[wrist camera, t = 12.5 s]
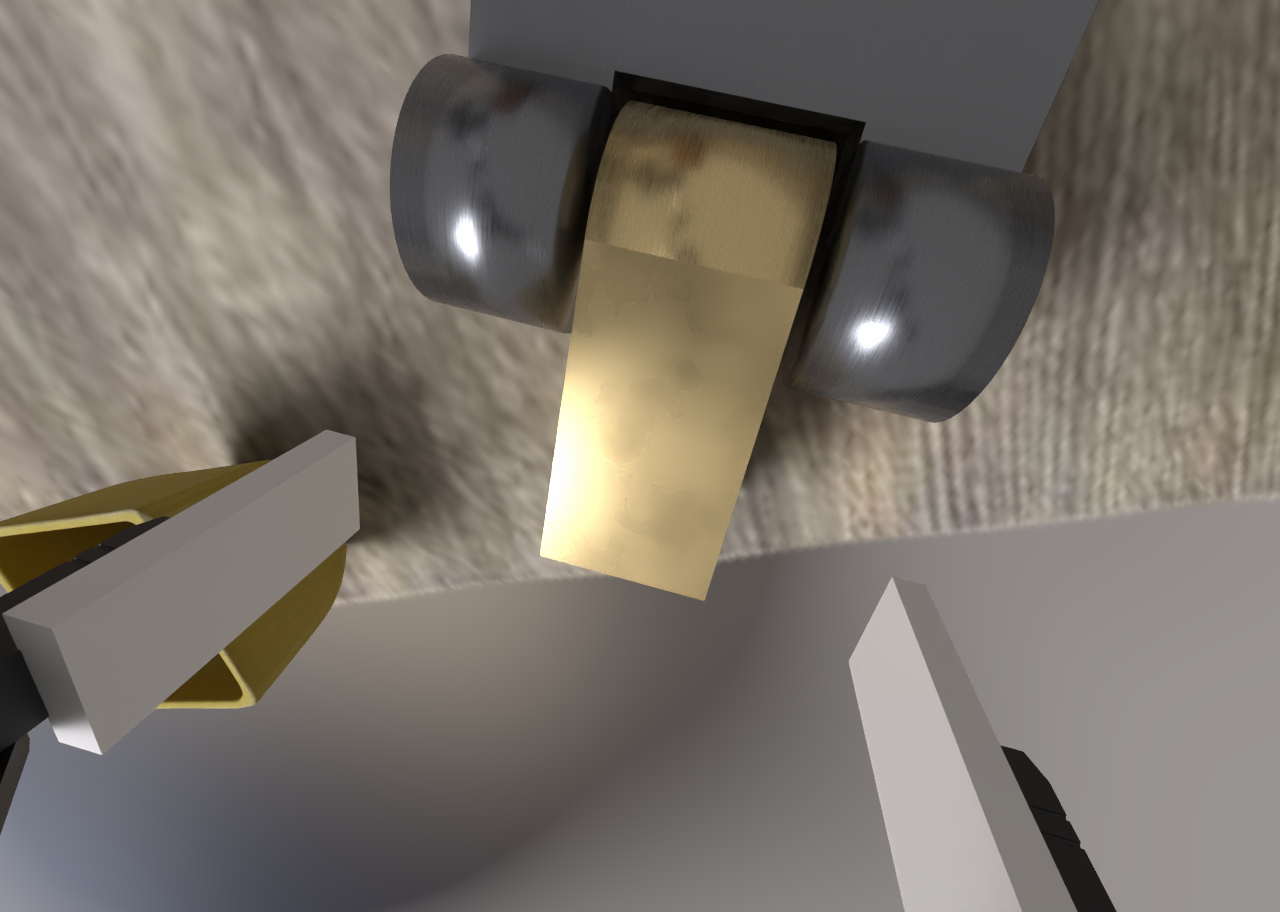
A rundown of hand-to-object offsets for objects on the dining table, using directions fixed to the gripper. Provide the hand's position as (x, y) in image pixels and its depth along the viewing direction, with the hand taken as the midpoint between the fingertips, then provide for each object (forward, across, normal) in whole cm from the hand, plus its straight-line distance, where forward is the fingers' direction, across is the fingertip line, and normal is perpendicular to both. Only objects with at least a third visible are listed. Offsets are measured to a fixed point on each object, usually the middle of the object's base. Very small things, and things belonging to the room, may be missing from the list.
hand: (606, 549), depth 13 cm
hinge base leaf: (+11, 0, +9) cm, 14 cm away
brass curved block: (+11, 0, +3) cm, 11 cm away
